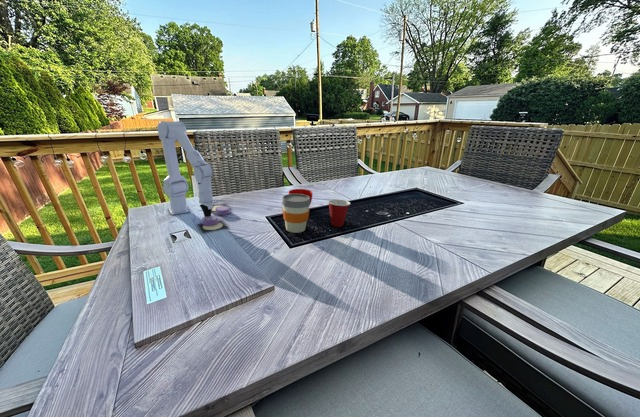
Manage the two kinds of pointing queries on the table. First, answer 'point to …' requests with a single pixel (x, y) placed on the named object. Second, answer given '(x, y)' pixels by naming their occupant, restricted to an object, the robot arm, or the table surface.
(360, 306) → the table surface
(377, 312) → the table surface
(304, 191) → the ceramic cup
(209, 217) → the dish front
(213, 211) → the pad
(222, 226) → the pad
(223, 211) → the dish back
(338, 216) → the plastic cup
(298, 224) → the reusable coffee cup
